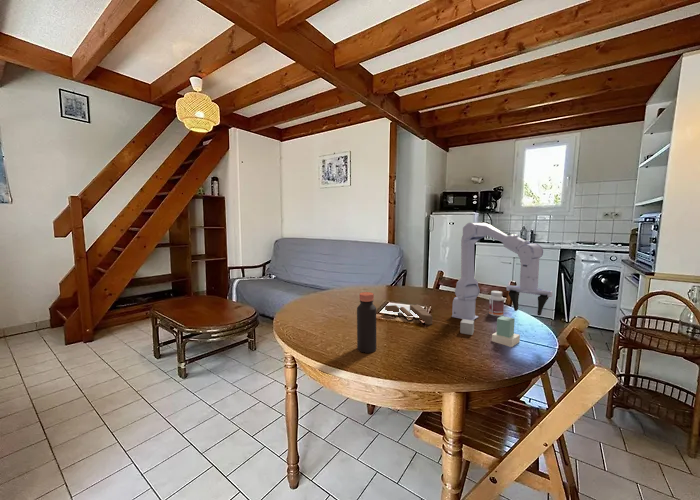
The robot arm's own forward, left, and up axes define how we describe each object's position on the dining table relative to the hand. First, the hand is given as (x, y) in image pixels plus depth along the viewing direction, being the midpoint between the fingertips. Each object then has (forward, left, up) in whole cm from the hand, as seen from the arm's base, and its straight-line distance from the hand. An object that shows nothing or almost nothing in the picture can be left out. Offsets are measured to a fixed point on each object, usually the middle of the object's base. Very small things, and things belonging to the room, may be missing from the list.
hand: (527, 312), depth 109 cm
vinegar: (-37, -48, -11) cm, 62 cm away
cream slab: (-5, -7, -11) cm, 14 cm away
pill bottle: (-19, +23, -11) cm, 32 cm away
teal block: (-5, -7, -8) cm, 12 cm away
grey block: (-19, -8, -10) cm, 23 cm away
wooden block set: (-46, -11, -11) cm, 48 cm away
